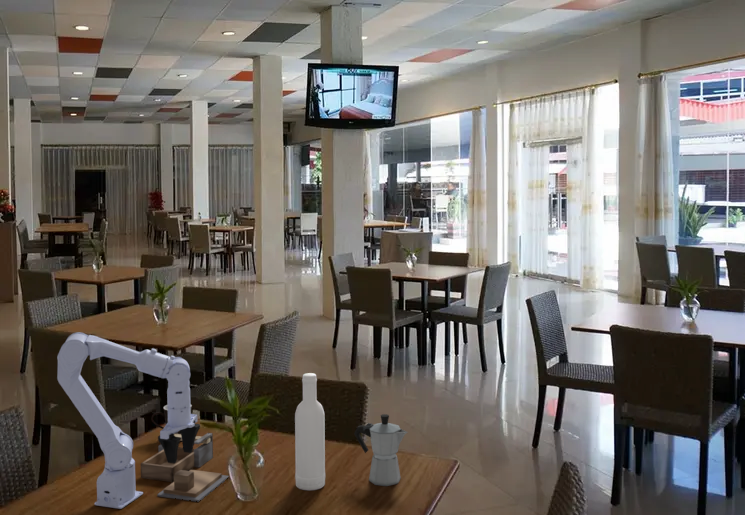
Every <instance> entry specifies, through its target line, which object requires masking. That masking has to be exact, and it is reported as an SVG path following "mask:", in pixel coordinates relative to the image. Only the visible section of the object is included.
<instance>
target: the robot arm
mask: <svg viewBox="0 0 745 515" xmlns="http://www.w3.org/2000/svg"><path fill="white" fill-rule="evenodd" d="M88 356H89V360H90V361H92V360H95V359H98V358H102V357H105V358H109V359H114V360H117V361H120V362H124V363H129V364H132V365H135V366H136V369H137V370H138V372H141V373H144V374H148V375H150V376H153V377H156V378H157V377H158V378H159V379H160V378H161V379H166V380H167V382H168V383H167V391H166V394H167V397H166V398H167V401H166V402H167V404H166V405H168V423H167V424H166V423H165V425H164V426H163V427H164V428H163V429H162V430H159V432H160V433H159V435H158V436H157V441H158V442H159V443H160V444H159V445H162V447H163V449H164V452H165V455H166V458H167V461H168V463H176V461H177V451H178V447H179V444H180V442H181V443H182V448H183V450H184V452H187V453H191V452H192V450H193V449H194V445H195V444H194V441H195V438H196V436H198V435H197V434H198V432H199V430H200V429H201V424H200V423H198V414H193V413H192V408H190V404H191V388H190V387H191V386H190V385H191V382H190V378H191V368H190V365H189V363H188V361H187V360H186V359H184V358H182V356H175V355H170V356H169V355H166V354H164V353H163V354H162V353H160V352H157V349H155V348H154V347H153V348H151V350H150V349H144V350H142V351H138V350H135V349H132V348H129V347H126V346H124V345H121V344H118V343H115V342H112V341H109V340H108V339H105V338H102V337H99V336H96V335H93V334H92V335H91V334H86V333H84V332H79V331H78V332H73V333H72V334H70V335H68V337H67V338H66V340H65V342H64V343H63V344H62V345H61V347H60V349H59V352H58V353H57V357H56V358H57V377H56V379H57V381H58V382H57V383H58V384H59V385H60V386H61V388H62V389H63V391H64V392H65V394H66V395H67V396H68V398H69V399H70V400H71V402H72V404H73V405H74V407H75V408H76V409H77V411H78V412H79V413H80V415H81V417H82V418H83V420H85V423H86V424H87V425H88V426H89V428H90V430H91V431H92V433H93V434H94V435H95V436H96V438H97V441H98V444H99V447H100V449H101V451H102V452H103V454H104V462H105V463H104V468H103V472H101V474H100V475H99V476H98V477H97V480H96V501H95V502H94V506H99V507H104V508H113V509H119V510H121V509H124V508H125V507H126V506H128V505H129V504H130V503H132V502H133V501H135V500H137V499H138V498H139V497H141V496H142V495H143V494H144V492H143V491H140V490H136V484H137V483H136V461H135V459H134V458H133V454H132V453H133V449H134V441H133V439H132V437H131V436H130V435H129V434H127V433H125V432H124V431H123V430H122V429H121V428H120V427H119V426H118V425H116V424H115V423H114V422H113V420H112V419H111V417H110V416H109V415H108V413H107V411H106V410H105V409H104V407H103V406H102V404H101V403H100V402H99V400H98V398H97V396H95V393H93V391H92V389H91V388H90V386H88V384H87V383H86V382H87V381H85V379H84V378H83V376H82V375H81V372H82V368H83V366H84V363H85V361H86V359H87V358H88ZM190 409H191V410H190ZM178 431H180V433H181V437H182V441H180V440H181V438H180V437H175V436H174V433H176V432H178Z"/></svg>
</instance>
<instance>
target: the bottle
mask: <svg viewBox="0 0 745 515" xmlns="http://www.w3.org/2000/svg"><path fill="white" fill-rule="evenodd" d="M317 381H318V378H317V374H316V373H314V372H313V373H312V372H309V373H308V372H307V373H306V372H305V373H304V374H302V379H301V383H302V400H301V402H300V403H299V404H298V405H297V406H296V410H295V413H294V423H295V424H294V429H295V430H294V434H295V436H294V440H295V443H294V445H295V446H294V447H295V448H294V449H295V452H294V453H295V457H294V458H295V474H294V479H295V486H296V488H298V489H299V490H301V491H302V490H303V491H317V490H320V489H322V488H323V487H324V486H325V485H326V456H325V455H326V450H325V449H326V446H325V445H326V444H325V442H326V441H325V440H326V439H325V437H326V435H325V432H326V431H325V430H326V428H325V426H326V425H325V421H326V419H325V411H324V406H323V405H322V404H321V402H319V401H318V400H317V399H318V397H317Z"/></svg>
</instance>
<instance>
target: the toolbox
mask: <svg viewBox="0 0 745 515" xmlns="http://www.w3.org/2000/svg"><path fill="white" fill-rule="evenodd" d="M174 434H178V432H176V433H174ZM213 436H214V435H213V433H212V432H207V433H206V434H204V435H203V436H201V438H199V439H198V440H196V441H195V442H194V445H198V447H197V448H193V450H192V452H191V453H187V452H184V450H183V447H179V446H178V451H177V461H176V463H168V461H167V458H166V455H165V452H164V449H163V447H162V445H161V444H159V445H158V448H157V449H158V452H157V453H155V454H154V455H152V456H151V457H149V458H147V459H145V460H144V461H142V462H140V478H141V479H147V480H154V481H162V482H163V481H164V482H171V483H173V482H174V474H175V473H177V472H178V471H179V470H184V471H190V470H193V469H194V468H198V469H199V468H201V467H203V465H205V464H207V462H209V461H210V460H212V459H213V458H214V443H213V438H214V437H213ZM209 437H210V442H209V443H208V444H204V443H201V442H203V441H204V440H206V439H207V438H209ZM200 444H201V445H200ZM199 445H200V446H199Z"/></svg>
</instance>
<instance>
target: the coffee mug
mask: <svg viewBox="0 0 745 515" xmlns="http://www.w3.org/2000/svg"><path fill="white" fill-rule="evenodd" d="M192 406H193V405H192V404H191V403H190V408H191V409H190V410H191V411H192ZM156 415H161V416H162V418H164V420H165V425H166V424H167V423H168V404H166V405H164V406H163V412H159V411H158V412H157V411H156V412H154V413H153V414H152V415H151V418H150V419H151V423H153V425H155V426H156V427H158V428H159V429H162V430H163V428H164V427H165V426H162V425H159V424H158V423H157V422H155V421H154V417H155V416H156ZM178 434H181V433H180V431H178Z"/></svg>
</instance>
